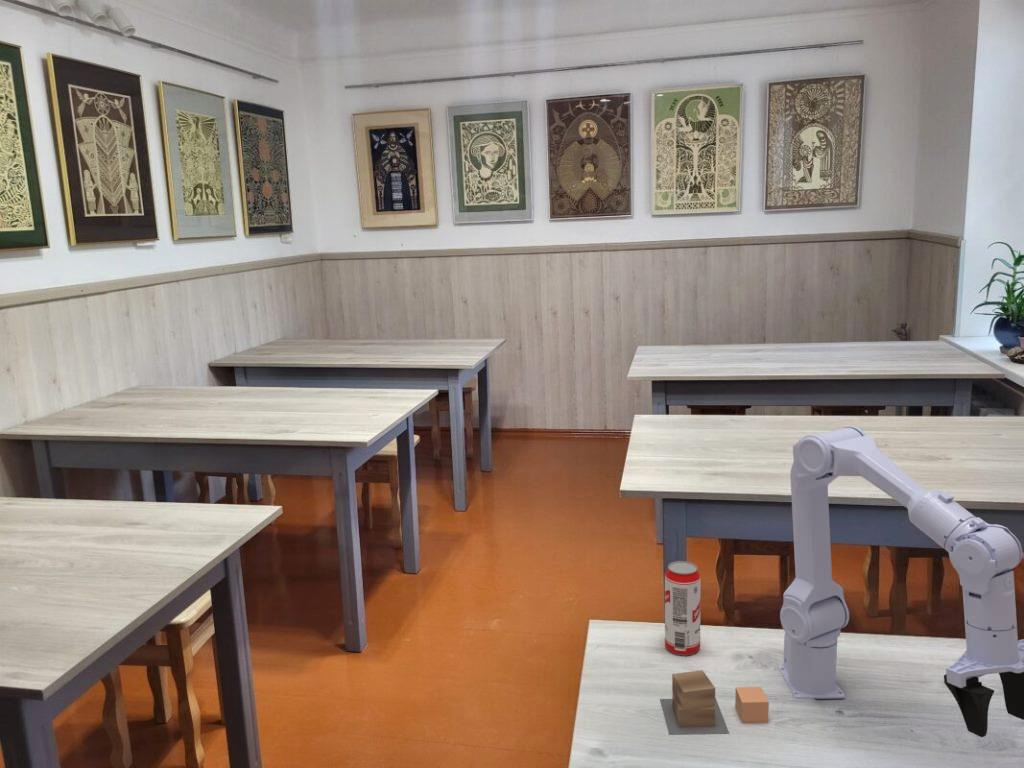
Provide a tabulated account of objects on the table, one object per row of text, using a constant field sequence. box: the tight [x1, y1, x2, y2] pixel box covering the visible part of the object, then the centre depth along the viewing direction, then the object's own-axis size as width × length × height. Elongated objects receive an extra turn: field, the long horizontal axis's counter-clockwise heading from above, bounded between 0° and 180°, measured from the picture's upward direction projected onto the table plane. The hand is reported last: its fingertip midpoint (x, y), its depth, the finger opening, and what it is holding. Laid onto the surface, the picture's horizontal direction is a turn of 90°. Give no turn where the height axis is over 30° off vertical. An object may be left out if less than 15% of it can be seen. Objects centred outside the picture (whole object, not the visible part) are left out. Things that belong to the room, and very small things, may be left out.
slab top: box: [671, 669, 716, 710], centre depth 120 cm, size 5×5×3 cm
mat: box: [659, 697, 730, 736], centre depth 121 cm, size 9×9×1 cm
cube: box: [734, 686, 770, 724], centre depth 121 cm, size 4×4×4 cm
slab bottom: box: [671, 690, 715, 727], centre depth 121 cm, size 6×6×3 cm
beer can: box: [664, 560, 702, 656], centre depth 139 cm, size 6×6×16 cm
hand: (997, 724), depth 100 cm, fingers open, 7 cm apart
